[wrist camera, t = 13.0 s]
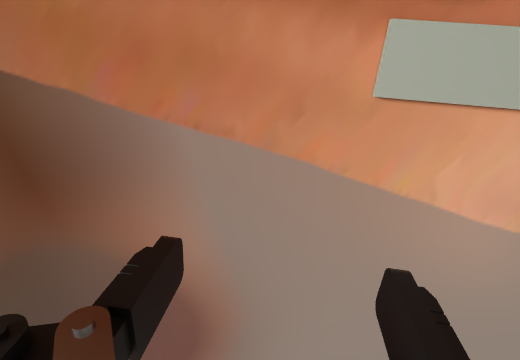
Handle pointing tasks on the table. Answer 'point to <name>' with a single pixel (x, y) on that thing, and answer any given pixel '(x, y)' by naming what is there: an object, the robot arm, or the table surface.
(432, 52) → the sage strip
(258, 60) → the table surface
